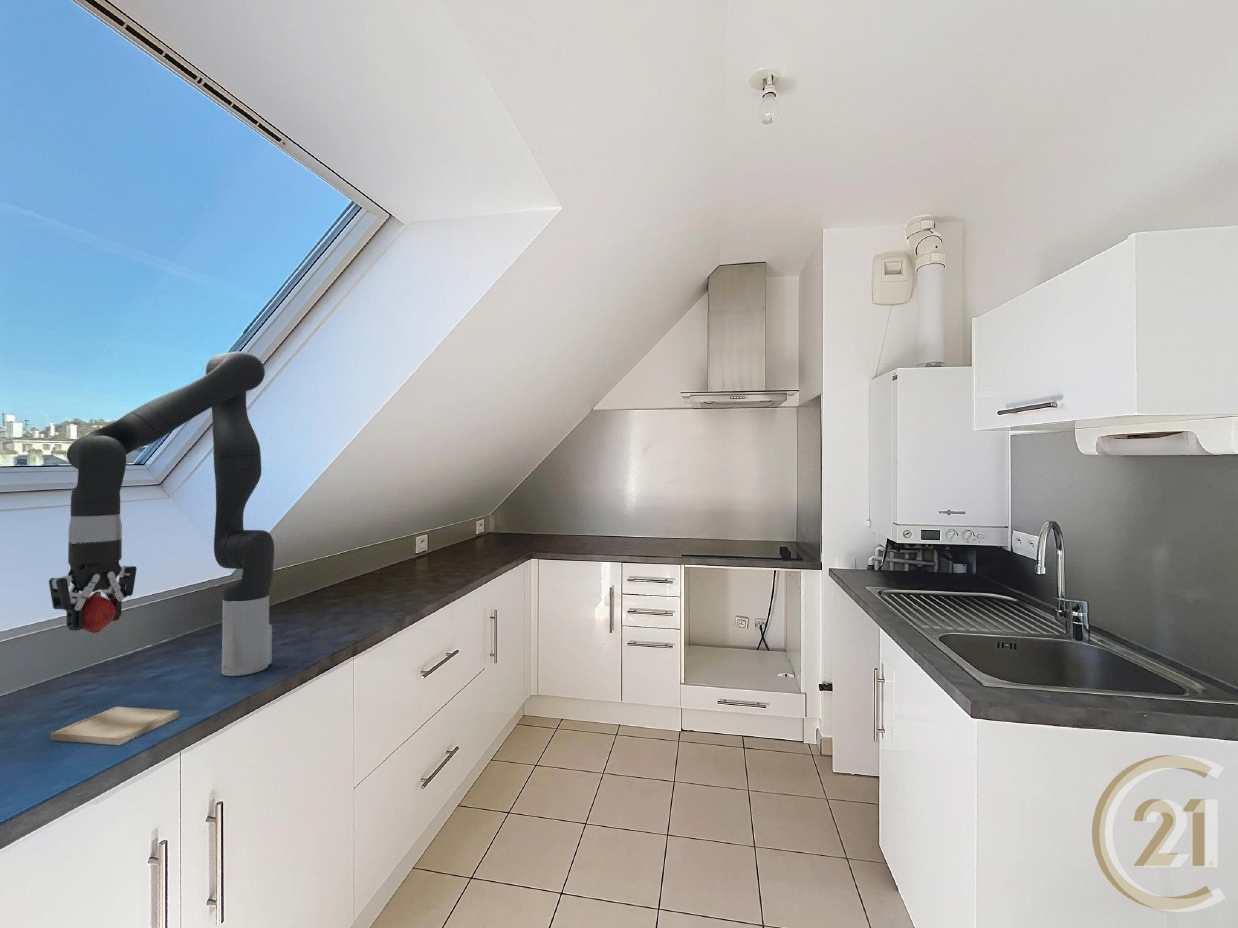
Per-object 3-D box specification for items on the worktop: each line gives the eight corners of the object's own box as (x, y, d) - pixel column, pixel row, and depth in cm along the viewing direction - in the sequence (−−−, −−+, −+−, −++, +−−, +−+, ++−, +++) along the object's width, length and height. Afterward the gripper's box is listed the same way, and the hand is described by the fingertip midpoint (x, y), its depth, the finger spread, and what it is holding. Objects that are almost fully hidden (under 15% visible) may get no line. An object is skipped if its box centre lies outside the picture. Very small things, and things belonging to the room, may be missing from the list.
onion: (83, 638, 102) (84, 596, 102) (67, 635, 105) (67, 593, 105) (121, 630, 108) (122, 589, 108) (105, 627, 110) (105, 587, 110)
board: (116, 712, 107) (116, 706, 107) (179, 716, 105) (179, 710, 105) (50, 739, 96) (50, 732, 96) (119, 745, 94) (119, 737, 94)
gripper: (118, 533, 114) (117, 614, 114) (35, 542, 100) (34, 635, 100) (149, 534, 113) (148, 616, 113) (69, 543, 99) (68, 637, 98)
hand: (94, 624), depth 106 cm, fingers closed on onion, 6 cm apart
